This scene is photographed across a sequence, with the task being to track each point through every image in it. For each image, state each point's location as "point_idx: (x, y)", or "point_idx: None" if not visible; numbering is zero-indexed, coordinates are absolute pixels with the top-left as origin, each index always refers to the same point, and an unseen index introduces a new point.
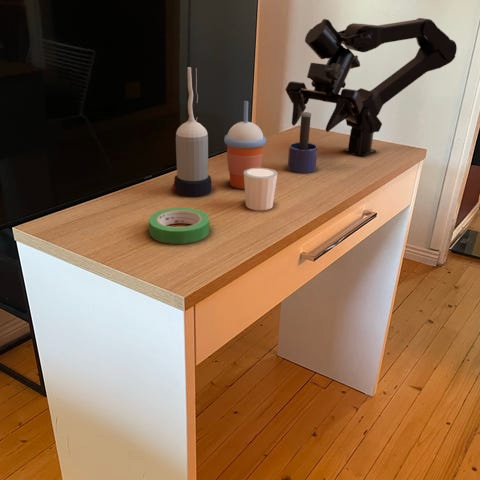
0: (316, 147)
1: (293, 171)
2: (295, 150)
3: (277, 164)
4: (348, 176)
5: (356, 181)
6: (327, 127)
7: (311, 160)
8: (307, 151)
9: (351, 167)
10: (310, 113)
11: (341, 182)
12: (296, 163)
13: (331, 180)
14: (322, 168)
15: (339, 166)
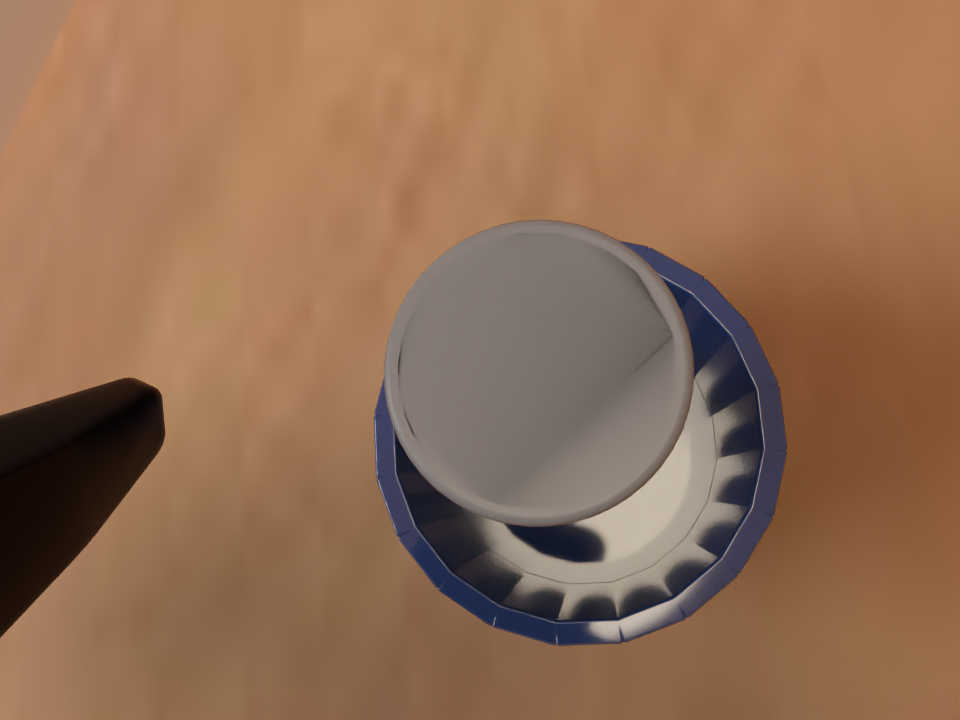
0: (387, 420)
1: None
2: (657, 254)
3: (869, 542)
4: (133, 342)
5: (74, 226)
6: (106, 387)
7: None
8: None
9: (95, 635)
10: (401, 384)
11: (194, 162)
12: None
13: (277, 187)
14: (372, 524)
15: (208, 639)
